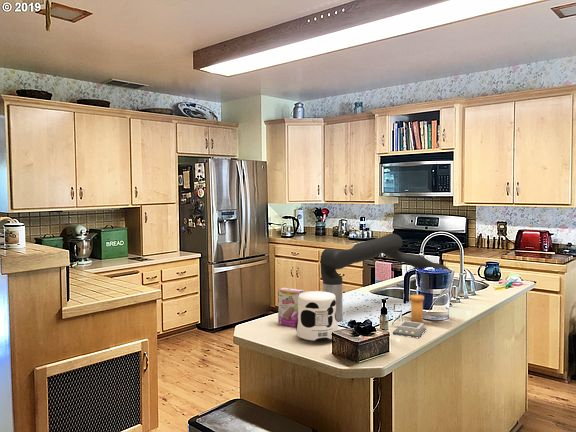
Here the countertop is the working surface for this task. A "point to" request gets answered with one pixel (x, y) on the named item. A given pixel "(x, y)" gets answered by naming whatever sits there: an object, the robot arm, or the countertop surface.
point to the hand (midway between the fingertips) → (424, 287)
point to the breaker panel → (410, 329)
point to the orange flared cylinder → (417, 308)
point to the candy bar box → (288, 306)
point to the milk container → (316, 316)
